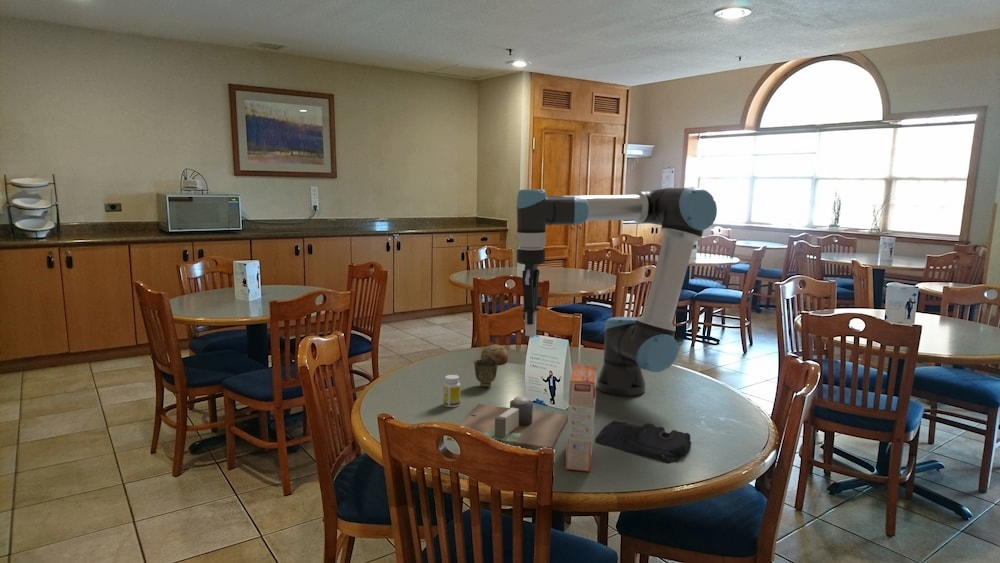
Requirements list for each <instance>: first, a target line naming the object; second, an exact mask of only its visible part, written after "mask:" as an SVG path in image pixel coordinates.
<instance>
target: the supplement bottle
mask: <svg viewBox="0 0 1000 563" xmlns="http://www.w3.org/2000/svg"><path fill="white" fill-rule="evenodd" d="M460 405H461V383H460V376H459V375H457V374H448V375H445V377H444V383H443V406H445V407H448V408H457V407H459V406H460Z"/></svg>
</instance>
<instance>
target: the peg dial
mask: <svg viewBox="0 0 1000 563" xmlns="http://www.w3.org/2000/svg"><path fill="white" fill-rule="evenodd" d="M533 405H534V403H533V401H532V400H530V398H528V397H526V396H516V397H514V398H513V399H512V400H510V401H509V408H510V409H509V410H507V411H506V412H504V413H503V414H501V415H500V416H498V417H496V418H495V437H500V438H503V437H504V436H506V435H507V434H508V433H510V432H511V431H512V430H514V429H515V428H516V427H518V426H519V425H529V424H531V423H532V415H533V411H534V406H533Z"/></svg>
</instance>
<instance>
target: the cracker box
mask: <svg viewBox="0 0 1000 563" xmlns="http://www.w3.org/2000/svg"><path fill="white" fill-rule="evenodd" d="M596 397H597V365H594V364H579V363H574V364H573V365H572V368H571V375H570V380H569V392H568V408H567V410H568V412H567V415H568V421H567V428H566V429H567V431H566V432H567V433H566V452H565V470H570V471H571V470H572V471H578V472H587V473H588V472H589V473H590V472H591V467H592V455H593V454H592V453H593V445H594V443H593V442H594V430H595V428H594V427H595V415H596V399H597V398H596Z"/></svg>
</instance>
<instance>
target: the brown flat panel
mask: <svg viewBox="0 0 1000 563" xmlns="http://www.w3.org/2000/svg"><path fill="white" fill-rule="evenodd" d="M509 409H510V407H507V406H506V407H505V406H504V407H503V406H498V405H497V406H496V405H489V404H481V403H477V405H476V406H475V407H473V409H472V410H470V412H468V413H467V415H466V416H465V417H464V418H463V419H462V420H461V421H460V422H459V423H458V424H459V425H461V426H465V427H469V428H471V429H474V430H476V431H479V432H481V433H483V434H485V435H487V436H489V437H491V438H493V439H495V440H497V441H499V442H502V443H505V444H509V445H513V446H520V447H525V448H524V449H526V448H529V449H528V450H532V449H539V448H543V447H547V448H553V449H554V448H555V447H556V444H557V442H558V441H559V438H560V436H561V434H562V432H563V431H564V428H565V427H566V425H567V424H568V414H567V415H566V414H561V413H560V414H558V413H553V412H552V413H550V412H546V411H545V412H543V411H536V410H533V415H532V423H531V424H529V425H519V426H518V427H516V428H515V429H514V430H512V431H511V432H510V433H508V434H507V435H506V436H504V437H503V438H500V437H495V418H496V417H498V416H500V415H501V414H503V413H504V412H506V411H507V410H509Z"/></svg>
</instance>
